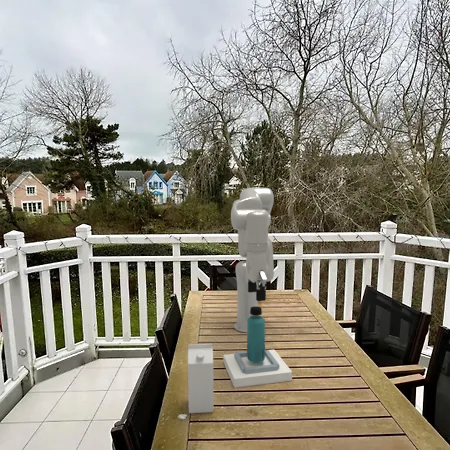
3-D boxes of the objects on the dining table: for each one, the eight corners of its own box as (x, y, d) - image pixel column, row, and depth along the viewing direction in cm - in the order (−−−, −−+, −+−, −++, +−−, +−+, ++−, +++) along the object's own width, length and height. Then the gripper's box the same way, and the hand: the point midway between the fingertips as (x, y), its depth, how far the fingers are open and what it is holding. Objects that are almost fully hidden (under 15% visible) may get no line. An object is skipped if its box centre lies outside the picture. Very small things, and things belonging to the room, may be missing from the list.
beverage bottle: (264, 367, 119) (265, 311, 117) (245, 365, 121) (245, 310, 119) (265, 358, 126) (266, 305, 124) (247, 357, 127) (248, 304, 125)
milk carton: (189, 399, 106) (188, 339, 105) (212, 398, 107) (212, 338, 105) (188, 414, 99) (187, 350, 97) (213, 412, 100) (213, 349, 98)
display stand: (223, 362, 129) (223, 350, 129) (274, 357, 133) (274, 345, 133) (234, 387, 112) (234, 374, 112) (292, 380, 117) (292, 367, 116)
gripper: (239, 244, 126) (239, 289, 128) (253, 252, 109) (253, 305, 111) (259, 243, 128) (259, 288, 130) (276, 251, 111) (275, 303, 113)
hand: (256, 296), depth 121 cm, fingers open, 9 cm apart
